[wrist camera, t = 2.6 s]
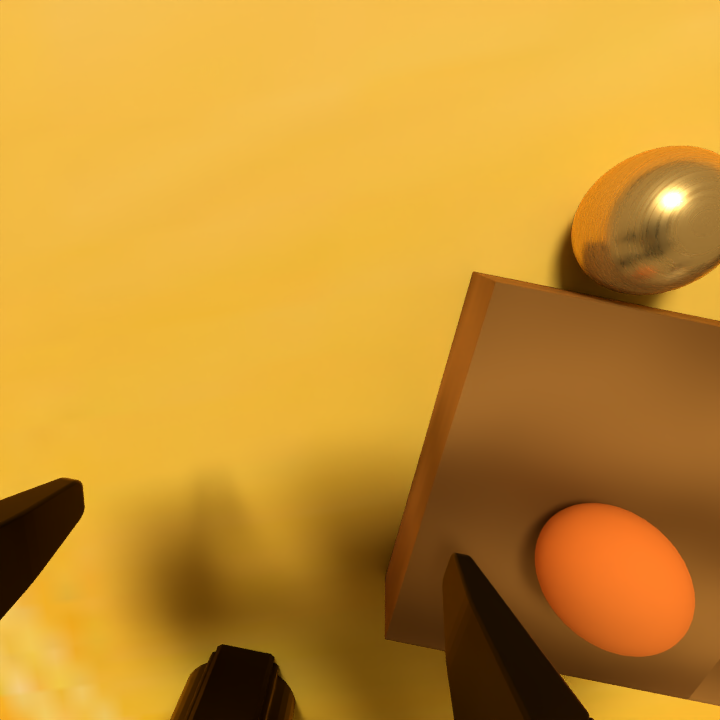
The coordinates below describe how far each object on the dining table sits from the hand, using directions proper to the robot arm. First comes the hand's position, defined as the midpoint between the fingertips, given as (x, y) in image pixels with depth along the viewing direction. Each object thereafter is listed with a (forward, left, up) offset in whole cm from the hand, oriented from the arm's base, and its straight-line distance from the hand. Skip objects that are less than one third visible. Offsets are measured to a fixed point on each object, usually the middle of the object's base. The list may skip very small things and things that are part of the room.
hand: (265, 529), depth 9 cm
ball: (0, -9, -1) cm, 9 cm away
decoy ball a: (+8, -8, -3) cm, 12 cm away
